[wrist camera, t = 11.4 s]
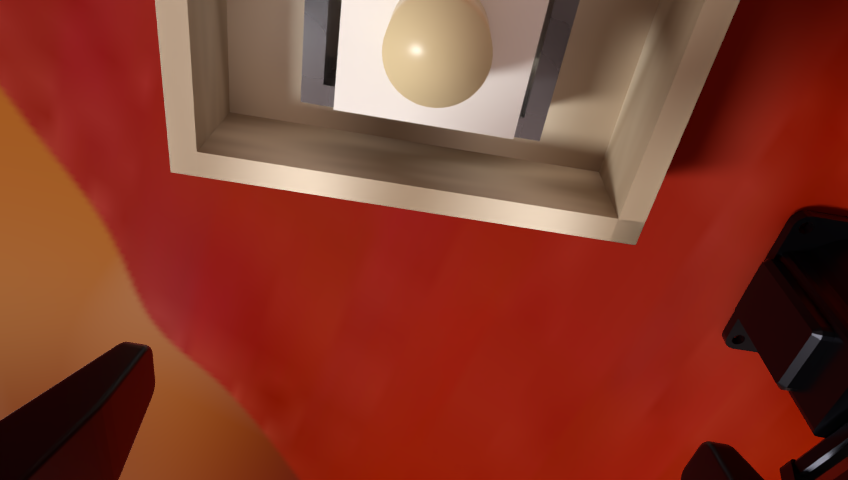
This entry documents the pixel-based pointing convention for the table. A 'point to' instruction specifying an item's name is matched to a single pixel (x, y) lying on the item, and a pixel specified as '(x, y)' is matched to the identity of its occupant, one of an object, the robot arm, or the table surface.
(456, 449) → the table surface
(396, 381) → the table surface
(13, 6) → the table surface
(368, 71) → the connector plug
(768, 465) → the table surface
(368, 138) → the socket box
